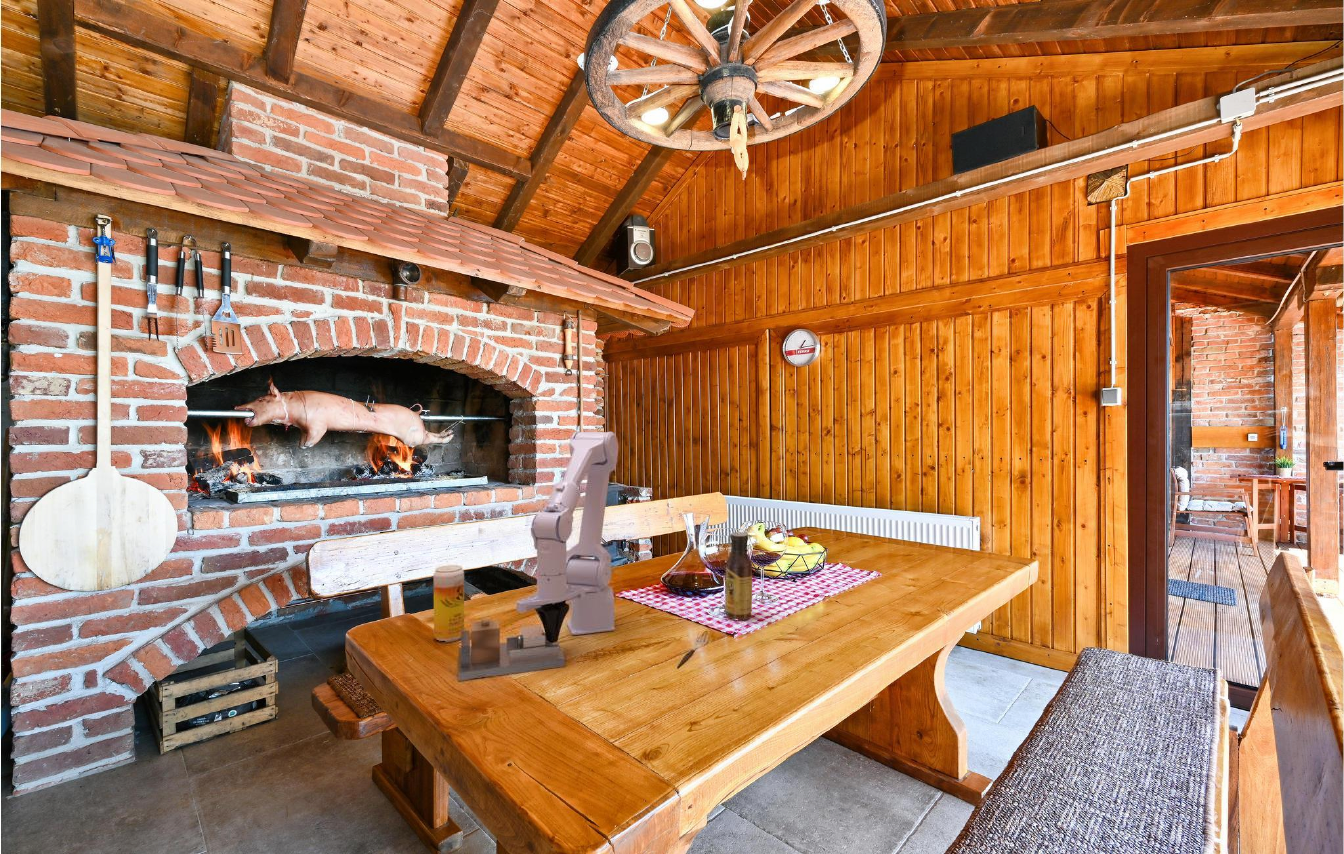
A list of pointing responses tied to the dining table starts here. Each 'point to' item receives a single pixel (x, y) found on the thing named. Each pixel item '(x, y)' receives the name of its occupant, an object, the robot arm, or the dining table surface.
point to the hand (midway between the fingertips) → (552, 640)
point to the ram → (531, 637)
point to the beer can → (448, 603)
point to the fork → (692, 650)
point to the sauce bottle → (738, 579)
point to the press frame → (508, 659)
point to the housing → (485, 640)
